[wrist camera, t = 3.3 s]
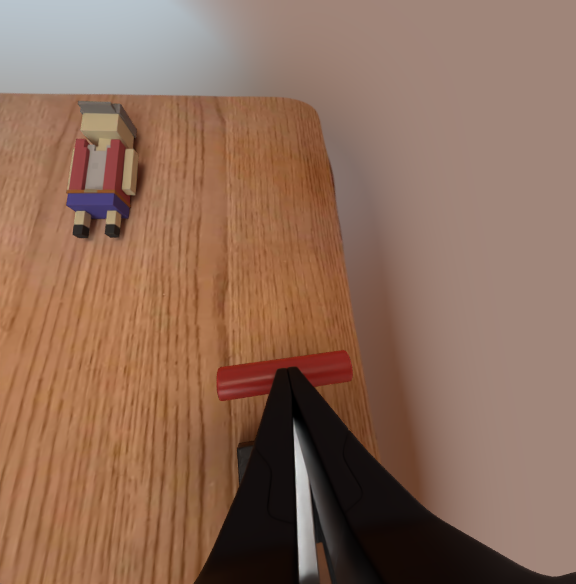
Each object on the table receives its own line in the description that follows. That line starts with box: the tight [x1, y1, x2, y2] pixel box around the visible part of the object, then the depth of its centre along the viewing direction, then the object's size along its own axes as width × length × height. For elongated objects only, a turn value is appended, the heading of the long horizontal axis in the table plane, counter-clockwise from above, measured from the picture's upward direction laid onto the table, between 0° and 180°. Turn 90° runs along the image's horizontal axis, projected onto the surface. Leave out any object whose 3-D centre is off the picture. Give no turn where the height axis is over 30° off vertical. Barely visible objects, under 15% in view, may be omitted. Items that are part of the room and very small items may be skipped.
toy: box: [66, 101, 139, 238], centre depth 24 cm, size 6×4×15 cm
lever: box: [217, 350, 353, 584], centre depth 11 cm, size 13×6×2 cm, turn 8°
